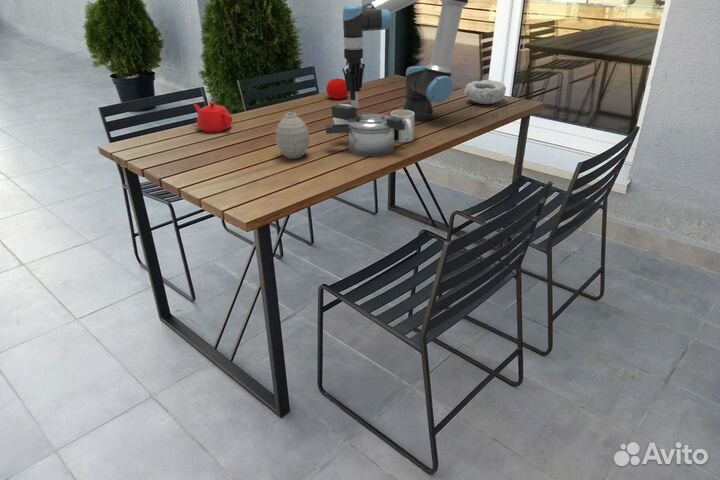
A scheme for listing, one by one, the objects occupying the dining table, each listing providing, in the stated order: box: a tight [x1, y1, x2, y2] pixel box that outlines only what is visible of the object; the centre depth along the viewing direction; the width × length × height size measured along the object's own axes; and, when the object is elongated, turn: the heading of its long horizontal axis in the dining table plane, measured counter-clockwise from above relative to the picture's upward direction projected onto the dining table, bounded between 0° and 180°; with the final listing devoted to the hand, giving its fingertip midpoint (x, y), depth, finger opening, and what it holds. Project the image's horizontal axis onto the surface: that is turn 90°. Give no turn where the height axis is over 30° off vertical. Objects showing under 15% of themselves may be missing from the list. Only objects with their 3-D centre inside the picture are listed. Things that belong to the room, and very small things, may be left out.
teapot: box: [193, 101, 233, 133], centre depth 244 cm, size 25×16×12 cm, turn 53°
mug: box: [390, 109, 415, 143], centre depth 225 cm, size 10×12×11 cm
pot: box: [325, 121, 405, 157], centre depth 216 cm, size 31×19×10 cm, turn 96°
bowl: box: [463, 79, 507, 105], centre depth 274 cm, size 21×20×10 cm
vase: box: [275, 112, 310, 160], centre depth 209 cm, size 13×13×17 cm
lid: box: [331, 104, 402, 131], centre depth 214 cm, size 31×19×5 cm, turn 56°
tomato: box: [326, 78, 349, 100], centre depth 288 cm, size 12×12×10 cm
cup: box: [332, 103, 351, 125], centre depth 241 cm, size 8×12×10 cm
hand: (354, 107), depth 227 cm, fingers closed
